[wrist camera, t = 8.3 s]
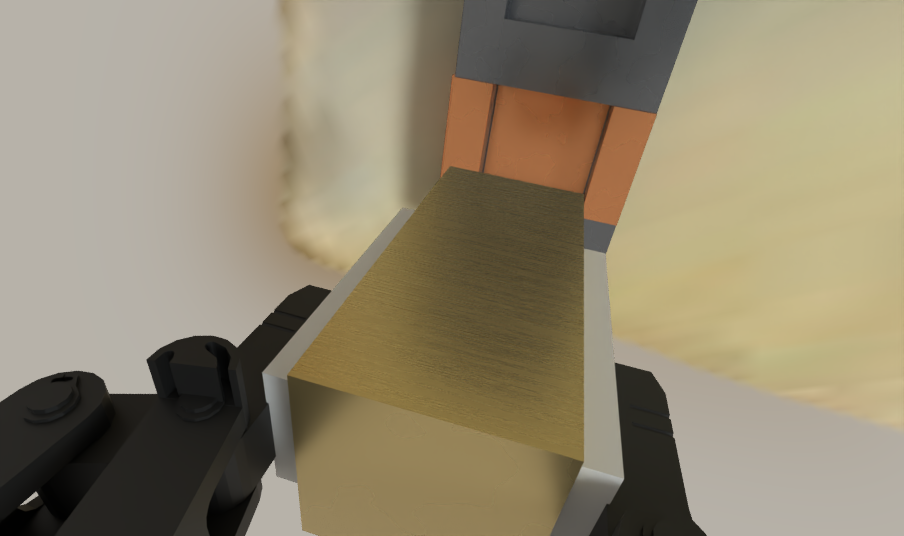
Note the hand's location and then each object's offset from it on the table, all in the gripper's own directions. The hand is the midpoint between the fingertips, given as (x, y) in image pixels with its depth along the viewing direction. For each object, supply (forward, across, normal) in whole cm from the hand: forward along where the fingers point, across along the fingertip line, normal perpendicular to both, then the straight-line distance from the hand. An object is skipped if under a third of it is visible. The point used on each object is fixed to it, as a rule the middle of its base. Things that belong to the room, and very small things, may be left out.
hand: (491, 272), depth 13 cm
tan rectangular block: (+2, 0, 0) cm, 2 cm away
